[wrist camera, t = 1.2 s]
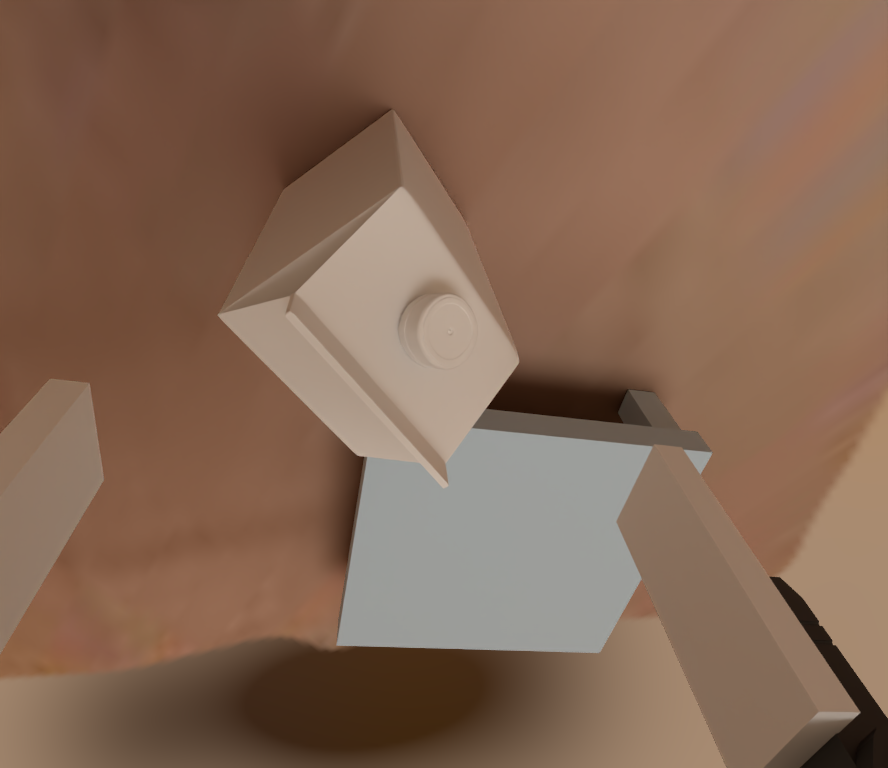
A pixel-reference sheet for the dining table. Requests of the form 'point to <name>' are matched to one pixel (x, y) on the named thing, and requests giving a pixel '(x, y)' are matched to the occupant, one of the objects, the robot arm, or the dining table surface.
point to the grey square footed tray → (505, 535)
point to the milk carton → (376, 303)
